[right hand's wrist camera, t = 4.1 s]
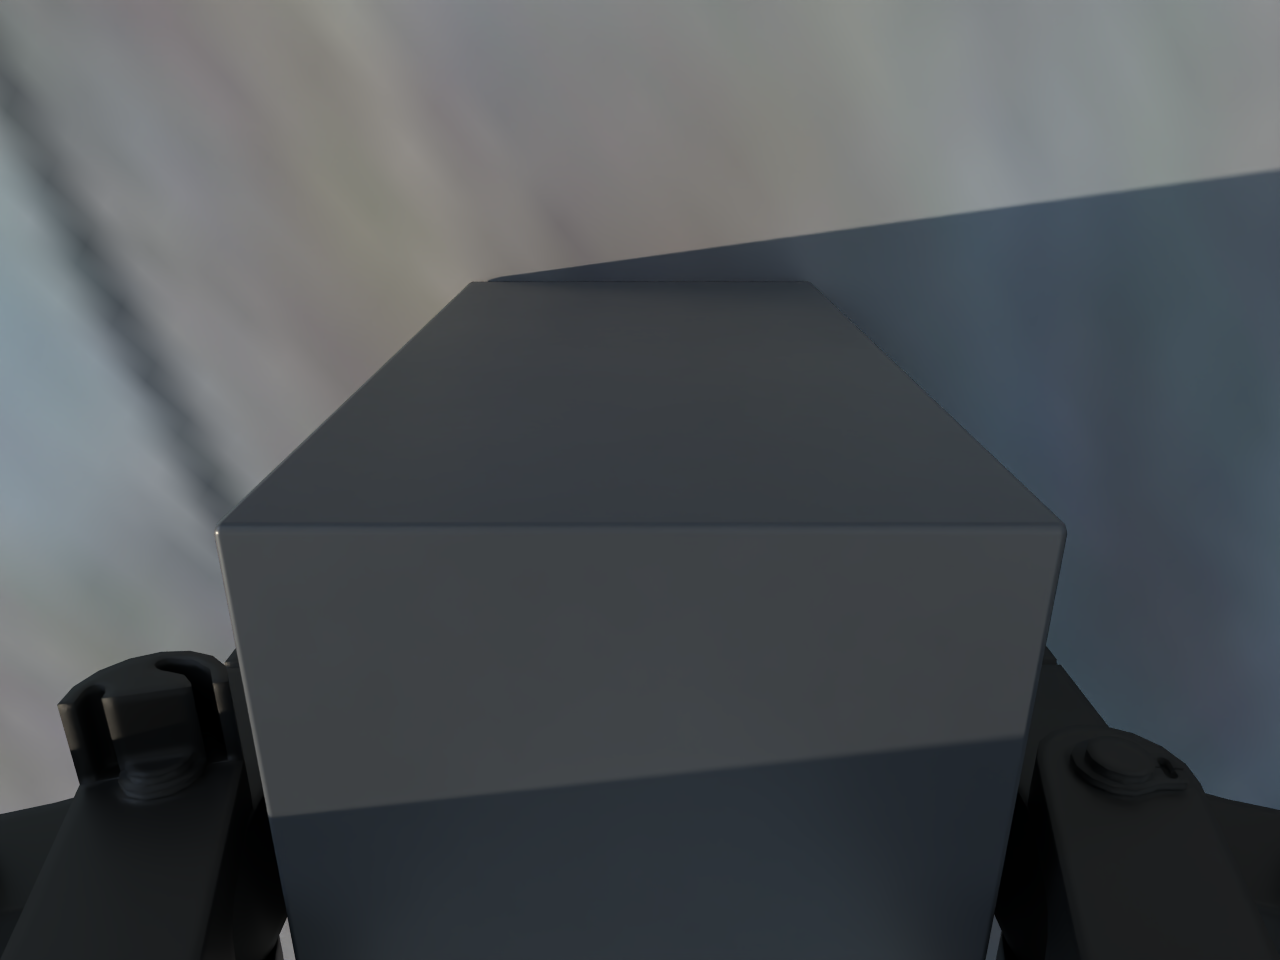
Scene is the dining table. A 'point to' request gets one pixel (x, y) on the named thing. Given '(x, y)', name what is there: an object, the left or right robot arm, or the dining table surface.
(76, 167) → the dining table surface
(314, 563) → the bar
